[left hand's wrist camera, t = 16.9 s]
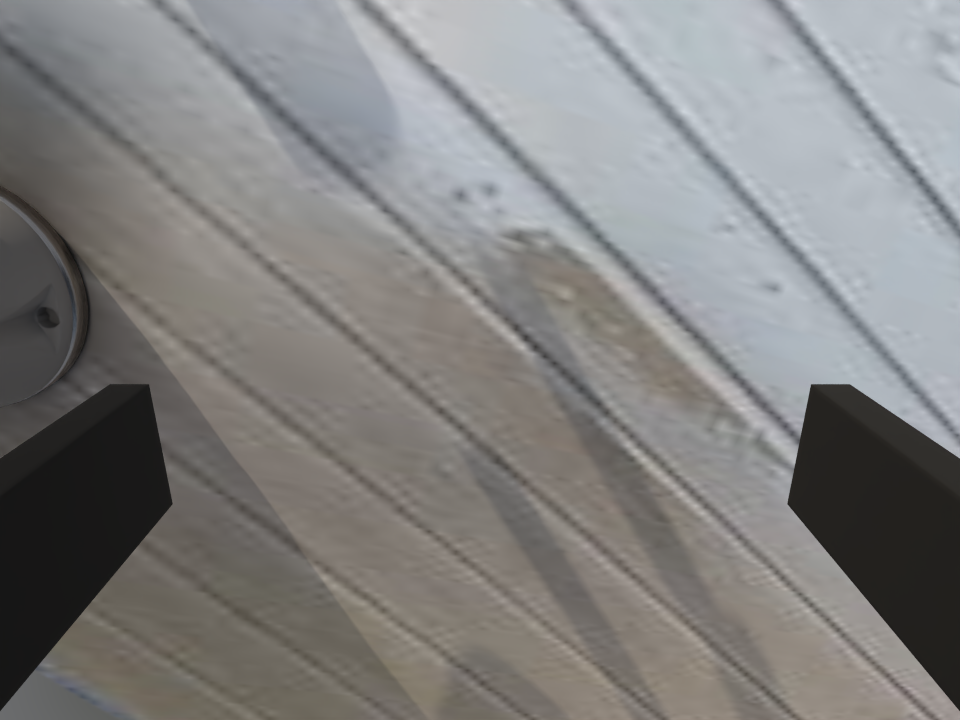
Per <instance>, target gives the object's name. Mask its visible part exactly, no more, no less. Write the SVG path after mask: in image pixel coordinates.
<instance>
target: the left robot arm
mask: <svg viewBox="0 0 960 720" xmlns="http://www.w3.org/2000/svg"><path fill="white" fill-rule="evenodd" d="M87 327H88V303H87V296H86V291H85V287H84V283H83V280H82V277H81V274H80V272H79V269H78V267H77V265H76V263H75V261H74V259H73V257H72V255H71V253H70V251H69V250H68V248H67V246H66V245H65V243H64V242H63V240H62V239H61V238H60V236H59V235H58V234H57V232H56V231H55V230H54V229H53V228H52V227H51V225H50V224H49V223H48V222H47V221H46V220H45V219H44V218H43V217H42V216H41V215H40V214H39V213H38V212H37V211H36V210H34V209H33V208H32V207H31V206H30V205H29V204H27V203H26V202H25V201H23V200H22V199H20V198H19V197H18V196H16V195H15V194H13V193H11V192H10V191H8V190H6V189H5V188H3V187H1V186H0V407H3V406H6V405H10V404H14V403H17V402H20V401H23V400H25V399H28V398H29V397H31V396H33V395H35V394H37V393H39V392H40V391H42V390H44V389H45V388H47V387H49V386H51V385H52V384H53V383H55V382H56V381H58V380H59V379H60V378H61V377H62V376H64V375H65V374H66V373H67V371H68V370H69V369H70V368H71V367H72V366H73V364H74V363H75V361H76V360H77V358H78V356H79V354H80V352H81V350H82V347H83V344H84V342H85V338H86V333H87ZM171 505H172V499H171V493H170V488H169V483H168V478H167V473H166V468H165V463H164V458H163V453H162V448H161V443H160V438H159V433H158V428H157V423H156V418H155V413H154V408H153V403H152V398H151V393H150V388H149V384H110V385H109V386H107V387H106V388H104V389H103V390H101V391H100V392H98V393H97V394H95V395H94V396H92V397H91V398H89V399H88V400H86V401H85V402H83V403H82V404H80V405H79V406H78V407H76V408H75V409H73V410H72V411H70V412H69V413H67V414H66V415H64V416H63V417H61V418H60V419H58V420H57V421H55V422H54V423H52V424H51V425H49V426H48V427H46V428H45V429H43V430H42V431H40V432H39V433H37V434H36V435H35V436H33V437H32V438H30V439H29V440H27V441H26V442H24V443H23V444H21V445H20V446H18V447H17V448H15V449H14V450H12V451H11V452H9V453H8V454H6V455H5V456H3V457H2V458H0V711H1V709H2V708H3V707H4V706H5V705H6V703H7V702H8V701H9V700H10V699H11V697H12V696H13V695H14V694H15V693H16V691H17V690H18V689H19V688H20V687H21V685H22V684H23V683H24V682H25V681H26V679H27V678H28V677H29V676H30V675H31V673H32V672H33V671H34V670H35V669H36V667H37V666H38V665H39V664H40V663H41V661H42V660H43V659H44V658H45V657H46V655H47V654H48V653H49V652H50V651H51V649H52V648H53V647H54V646H55V645H56V643H57V642H58V641H59V640H60V639H61V637H62V636H63V635H64V634H65V633H66V631H67V630H68V629H69V628H70V627H71V625H72V624H73V623H74V622H75V621H76V619H77V618H78V617H79V616H80V615H81V613H82V612H83V611H84V610H85V609H86V607H87V606H88V605H89V604H90V603H91V601H92V600H93V599H94V598H95V597H96V595H97V594H98V593H99V592H100V591H101V589H102V588H103V587H104V586H105V585H106V583H107V582H108V581H109V580H110V579H111V577H112V576H113V575H114V574H115V573H116V571H117V570H118V569H119V568H120V567H121V565H122V564H123V563H124V562H125V561H126V559H127V558H128V557H129V556H130V555H131V553H132V552H133V551H134V550H135V549H136V547H137V546H138V545H139V544H140V543H141V541H142V540H143V539H144V538H145V537H146V535H147V534H148V533H149V532H150V531H151V529H152V528H153V527H154V526H155V525H156V523H157V522H158V521H159V520H160V519H161V517H162V516H163V515H164V514H165V513H166V511H167V510H168V509H169V508H170V507H171ZM788 505H789V507H790V508H791V509H792V510H793V511H794V513H795V514H796V515H797V516H798V517H799V519H800V520H801V521H802V522H803V523H804V525H805V526H806V527H807V528H808V529H809V531H810V532H811V533H812V534H813V535H814V537H815V538H816V539H817V540H818V541H819V543H820V544H821V545H822V546H823V547H824V549H825V550H826V551H827V552H828V553H829V555H830V556H831V557H832V558H833V559H834V561H835V562H836V563H837V564H838V565H839V567H840V568H841V569H842V570H843V571H844V573H845V574H846V575H847V576H848V577H849V579H850V580H851V581H852V582H853V583H854V585H855V586H856V587H857V588H858V589H859V591H860V592H861V593H862V594H863V595H864V597H865V598H866V599H867V600H868V601H869V603H870V604H871V605H872V606H873V607H874V609H875V610H876V611H877V612H878V613H879V615H880V616H881V617H882V618H883V619H884V621H885V622H886V623H887V624H888V625H889V627H890V628H891V629H892V630H893V631H894V633H895V634H896V635H897V636H898V637H899V639H900V640H901V641H902V642H903V643H904V645H905V646H906V647H907V648H908V649H909V651H910V652H911V653H912V654H913V655H914V657H915V658H916V659H917V660H918V661H919V663H920V664H921V665H922V666H923V667H924V669H925V670H926V671H927V672H928V673H929V675H930V676H931V677H932V678H933V679H934V681H935V682H936V683H937V684H938V685H939V687H940V688H941V689H942V690H943V691H944V693H945V694H946V695H947V696H948V697H949V699H950V700H951V701H952V702H953V703H954V705H955V706H956V707H957V708H958V709H959V711H960V458H958V457H957V456H955V455H954V454H952V453H951V452H949V451H948V450H946V449H945V448H943V447H942V446H940V445H939V444H937V443H936V442H934V441H933V440H931V439H930V438H928V437H927V436H925V435H924V434H923V433H921V432H920V431H918V430H917V429H915V428H914V427H912V426H911V425H909V424H908V423H906V422H905V421H903V420H902V419H900V418H899V417H897V416H896V415H894V414H893V413H891V412H890V411H888V410H887V409H885V408H884V407H882V406H881V405H880V404H878V403H877V402H875V401H874V400H872V399H871V398H869V397H868V396H866V395H865V394H863V393H862V392H860V391H859V390H857V389H856V388H854V387H853V386H851V385H850V384H811V388H810V393H809V398H808V403H807V408H806V413H805V418H804V423H803V428H802V433H801V438H800V443H799V448H798V453H797V458H796V463H795V468H794V473H793V478H792V483H791V488H790V493H789V499H788Z"/></svg>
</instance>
